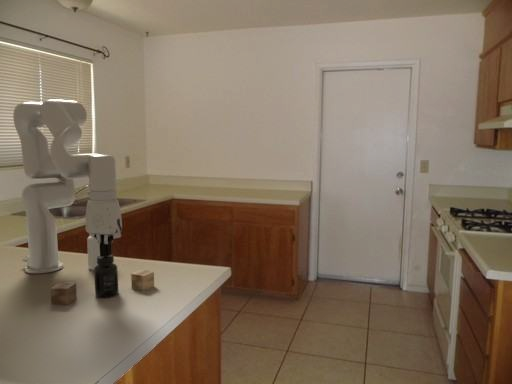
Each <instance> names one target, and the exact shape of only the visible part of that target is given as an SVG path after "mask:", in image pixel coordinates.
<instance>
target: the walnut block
mask: <svg viewBox="0 0 512 384" xmlns="http://www.w3.org/2000/svg"><path fill="white" fill-rule="evenodd" d="M75 300H77V283H76V282H58V283H56V284H55V285H54V286H52V287H50V303H51V304H50V305H52V306H70V304H72V303H73V302H75Z"/></svg>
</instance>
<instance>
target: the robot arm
mask: <svg viewBox="0 0 512 384" xmlns="http://www.w3.org/2000/svg"><path fill="white" fill-rule="evenodd" d="M12 117H13V122H14V123H13V124H14V128H15V130H16V132H17V135H18V137H19V140H20V146H21V155H22V163H23V171H24V174H25V176H26V177H27V178H28V179H29V180H48V179H51V180H52V179H55V182H54V181H52V182H39V183H38V182H36V183H31V184H28V185H27V186H25V187H24V188H23V189H22V193H21V198H22V202H23V206H24V211H25V216H26V228H27V229H26V230H27V245H28V246H27V247H28V254H27V255H25V257H23V258H22V262H23V263H27V264H26V266H25V267H24V272H25V273H27V274H34V275H35V274H37V275H38V274H47V273H48V274H49V273H53V272H56V271H59V270H60V269H62V268H64V263H63V261H60V260H59V248H58V229H57V228H58V227H57V220H56V218H55V216H54V214H53V213H51V211H50V209H57V208H64V207H65V208H66V207H70V206H71V205H72V204H73V203H74V202H75V199H76V198H75V197H76V193H75V181H74V180H76V179H77V180H78V179H79V180H80V179H88V183H89V184H88V185H89V189H88V190H89V191H88V192H87V196H88V197H89V200H87V202H86V208H85V231H86V233H88V235H89V236H92V237H95V238H96V240H97V242H98V244H99V245H100V257H107V256H109V255H112V243H113V242H114V240H115V239H118V238H122V233H121V232H122V229H123V223H122V222H123V221H122V220H123V219H122V212H121V207H120V202H119V200H117V178H116V177H117V172H116V171H117V170H116V158H115V157H114V156H113V155H111V154H100V153H68V151H67V150H66V149H67V148H70V147H72V146H73V145H75V144H76V143H78V141H80V139H81V138H82V135H83V130H82V128H81V126H83V125H84V124H85V123H86V122H87V118H88V115H87V109H86V108H85V106H84V105H83V104H82V103H81V102H79V101H76V100H67V99H66V100H65V99H55V98H53V99H48V100H44V101H43V102H38V101H37V102H36V101H24V102H21V103H18V104H17V105H15V108H14V110H13V116H12ZM39 128H47V129H48V130H49V132H50V134H51V136H52V137H53V140H52V141H51V144H50V149H49V142H48V139H47V137H46V136H45V134H44V133H43V132H42V131H41V129H39Z"/></svg>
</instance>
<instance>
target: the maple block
mask: <svg viewBox="0 0 512 384" xmlns="http://www.w3.org/2000/svg"><path fill="white" fill-rule="evenodd" d="M130 274H131V275H130V276H131V277H130V279H131V281H130V282H131V283H130V284H131V289H132V288H133V289H134V290H136V289H137V290H138V291H142V292H145V291H147V290H149V289H152V288H154V287H155V272H154V271H152V270H147V269H139V270H137V271H134V272H132V273H130ZM153 286H154V287H153ZM151 287H152V288H151ZM133 289H132V290H133Z"/></svg>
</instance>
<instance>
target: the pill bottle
mask: <svg viewBox="0 0 512 384" xmlns="http://www.w3.org/2000/svg"><path fill="white" fill-rule="evenodd" d="M86 243H87V244H86V245H87V268H88V269H89V270H91V271H94V268H95V266H97V265H98V264H97V257H98V256H100V245H99V244H98V242H97V240H96V238H95V237H92V236H90V235H89V236H88V237H87V242H86Z"/></svg>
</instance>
